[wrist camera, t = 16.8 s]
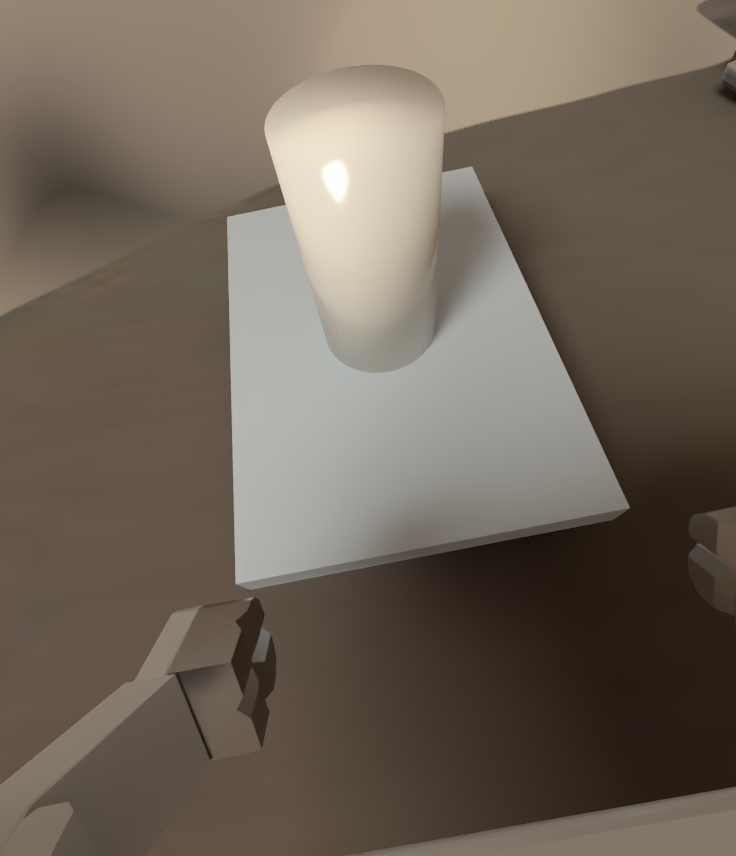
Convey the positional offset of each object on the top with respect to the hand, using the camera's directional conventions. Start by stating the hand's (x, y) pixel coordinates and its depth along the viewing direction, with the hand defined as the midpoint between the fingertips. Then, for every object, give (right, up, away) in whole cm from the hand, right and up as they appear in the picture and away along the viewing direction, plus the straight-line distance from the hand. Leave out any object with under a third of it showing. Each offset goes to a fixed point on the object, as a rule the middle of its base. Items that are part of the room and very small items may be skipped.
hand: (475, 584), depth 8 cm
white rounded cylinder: (-1, +8, +12) cm, 14 cm away
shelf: (-1, +6, +15) cm, 16 cm away
